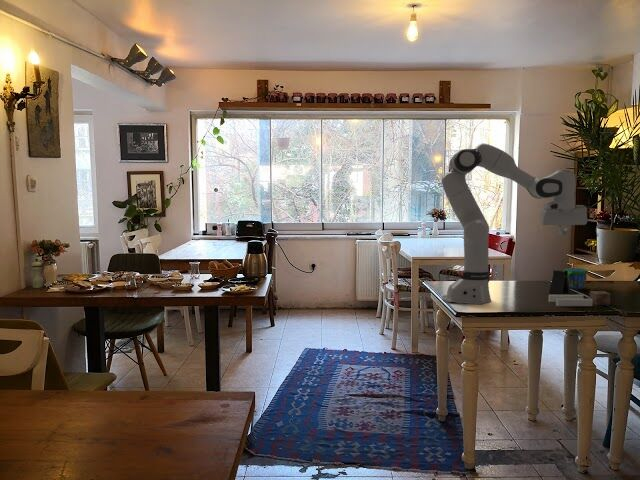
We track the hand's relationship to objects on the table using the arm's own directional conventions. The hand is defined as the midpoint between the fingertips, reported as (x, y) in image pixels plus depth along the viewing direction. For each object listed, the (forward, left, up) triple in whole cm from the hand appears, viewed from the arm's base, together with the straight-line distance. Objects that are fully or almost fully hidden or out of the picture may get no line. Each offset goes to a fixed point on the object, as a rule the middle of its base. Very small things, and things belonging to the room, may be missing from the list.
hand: (563, 234), depth 238 cm
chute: (-1, -12, -31) cm, 33 cm away
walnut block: (+12, -12, -30) cm, 35 cm away
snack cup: (+19, +28, -31) cm, 46 cm away
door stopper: (+6, +16, -31) cm, 36 cm away
